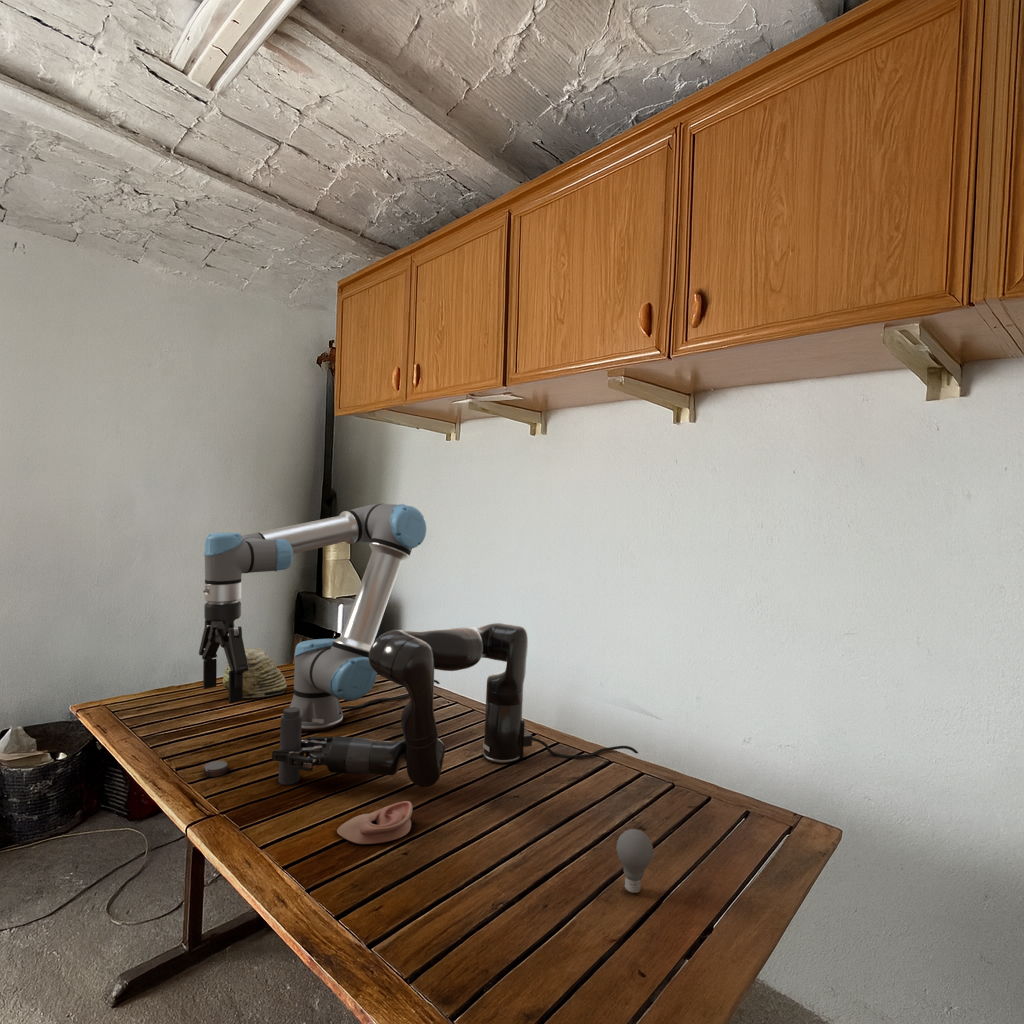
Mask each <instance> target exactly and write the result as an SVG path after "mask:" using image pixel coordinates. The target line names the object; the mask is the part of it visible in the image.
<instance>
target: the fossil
mask: <svg viewBox="0 0 1024 1024" xmlns="http://www.w3.org/2000/svg"><path fill="white" fill-rule="evenodd" d="M244 649H245V654H246V659H247V664H248V671H245V672H243V699H250V698H264V697H271V696H275V695H281V694H284V693H285V691H286V689H287V687H288V686H287V680H286V678H285V676H284V674H283V673H282V672H281V669H279V668H278V667H277V665H276V663H275V662H274V660H273V659H272V658H271V657H270V656H269V655H268V654H267V653H266V652H265V650H264V649H263V648H260V647H258V648H251V647H247V646H246V647H245V646H244ZM230 671H231V670H230V667H229V663H228V661H227V663H226V666H225V668H224V671H223V675H222V676H223V677H222V685H223V687H224V688H225V690H226V691H228V692H229V675H228V673H229V672H230Z"/></svg>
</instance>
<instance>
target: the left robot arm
mask: <svg viewBox="0 0 1024 1024" xmlns="http://www.w3.org/2000/svg"><path fill="white" fill-rule="evenodd" d="M426 535H427V522H426V520H425V518H424V515H423V513H422V512H421V511H420V510H419V509H418V508H417V507H415V506H413V505H408V504H407V505H406V504H404V503H401V504H393V503H372V504H369V505H364V506H361V507H357V508H353V509H348V510H344V511H342V512H341V513H340V514H339V515H337V516H332V517H327V518H321V519H317V520H313V521H307V522H302V523H297V524H292V525H287V526H283V527H278V528H273V529H267V530H263V531H258V532H253V533H248V534H243V535H241V533H238V532H211V533H208V534H207V535H206V537H205V542H204V552H203V556H204V588H203V589H202V593H204V600H205V604H204V607H203V608H204V610H203V611H204V612H203V613H204V617H203V618H204V626H203V627H204V629H203V632H202V637H201V641H200V645H199V650H198V655H199V656H201V659H202V660H203V662H202V665H203V669H202V676H203V677H202V681H203V682H202V688H203V690H207V689H212V688H217V670H218V669H217V667H218V666H217V662H218V661H217V658H218V654H217V652H218V650H219V648H220V647H221V648H223V651H224V654H225V657H226V660H227V662H228V663H229V667H230V670H231V671H230V672H229V673H228V675H229V691H228V704H230V705H232V704H235V703H239V702H243V699H244V698H243V672H245V671H248V664H247V659H246V654H245V649H244V647H245V644H244V639H243V629H242V626H235V621H236V620H238V619H240V618H241V616H242V603H241V601H240V600H241V599H242V574H251V573H266V572H278V571H285V570H287V569H290V567H291V566H292V563H293V560H294V555H295V554H300V553H303V552H307V551H313V550H316V549H320V548H324V547H330V546H333V545H339V544H342V543H345V544H349V545H353V544H357V543H369V544H368V545H369V547H370V549H371V554H370V557H369V560H368V563H367V565H366V568H365V569H364V570H365V571H364V573H363V577H362V578H361V582H360V585H359V587H358V590H357V593H356V595H355V598H354V601H353V603H352V606H351V609H350V612H349V614H348V617H347V620H346V622H345V625H344V628H343V631H342V633H341V635H340V636H339V637H337V638H318V639H308V640H304V641H300V642H299V643H297V644H296V646H295V650H294V655H293V657H294V672H293V673H294V674H293V695H292V696H293V697H292V699H291V702H290V704H289V707H288V708H290V707H296V708H299V709H300V714H301V715H302V730H301V733H316V732H325V731H329V730H332V729H335V728H337V727H339V726H340V725H342V723H343V722H344V714H343V710H351V709H352V710H353V709H354V710H355V709H362V708H364V707H366V706H368V705H370V704H373V703H378V702H386V701H387V702H388V701H389V702H390V701H397V700H402V699H405V698H408V697H409V698H410V696H409V694H408V693H406V694H403V695H400V696H399V695H398V696H393V697H381V698H380V697H379V698H375V699H370V700H368V701H366V702H364V703H362V704H359V705H343V706H341V702H340V700H344V701H349V702H353V701H357V700H360V699H362V697H364V696H366V695H367V694H368V693H369V692H370V691H371V690H372V688H373V687H374V685H375V684H376V681H377V676H378V673H376V672H375V671H374V670H373V668H372V667H371V665H370V662H369V651H370V648H371V646H372V644H373V643H374V642H375V640H376V637H377V634H378V631H379V629H380V626H381V623H382V620H383V617H384V613H385V610H386V608H387V605H388V603H389V599H390V596H391V594H392V591H393V588H394V586H395V583H396V579H397V577H398V574H399V571H400V568H401V565H402V563H403V562H404V561H405V560H408V559H410V556H411V553H412V551H413V549H415V548H418V547H419V546H420V545H422V543H423V542H424V540H425V538H426ZM435 683H436V684H437V685H440V683H441V682H440V681H439V680H436V679H434V684H435Z"/></svg>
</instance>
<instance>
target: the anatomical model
mask: <svg viewBox="0 0 1024 1024" xmlns="http://www.w3.org/2000/svg"><path fill="white" fill-rule="evenodd" d="M413 811H414V810H413V804H412V802H411V801H409V800H404V801H399V802H396V803H392V804H389V805H387V806H384V807H382V808H380V809H377V810H375V811H373V812H370V813H362V814H358V815H357V816H354V817H352V818H350V819H348V820H347V821H345V822H344V823H342V824H341V825H339V827H338V828H337V829H336V833H337V835H339V837H342V838H343V839H345V840H346V841H349V842H351V843H353V844H357V845H373V844H382V843H388V842H391V841H394V840H398V839H400V838H403V837H404V836H406V835H407V834H408V833H409V832H410V831H411V828H412V820H411V817H412V814H413Z"/></svg>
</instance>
